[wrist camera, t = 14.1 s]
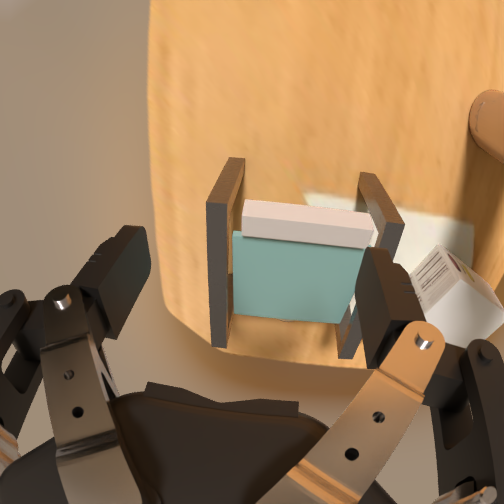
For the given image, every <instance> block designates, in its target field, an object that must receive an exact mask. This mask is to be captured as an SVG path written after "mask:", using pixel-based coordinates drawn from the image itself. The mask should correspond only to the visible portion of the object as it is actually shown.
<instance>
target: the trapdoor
mask: <svg viewBox="0 0 504 504" xmlns="http://www.w3.org/2000/svg"><path fill="white" fill-rule="evenodd" d="M373 231H374V229H373V225H372V220H371V216H370V213H362V212H355V211H347V210H339V209H331V208H323V207H315V206H306V205H297V204H288V203H278V202H268V201H258V200H247V199H245V203H244V208H243V212H242V231H233V235H232V247H233V298H234V314H241V315H250V316H259V317H268V318H278V319H289V320H299V321H311V322H323V323H337V324H340V322H341V320H342V318H343V316H344V313H345V311H346V309H347V307H348V305H349V303H350V301H351V298H352V296H353V294H354V292H355V284H356V279H357V276H358V273H359V269H360V266H361V262H362V258H363V255H364V251H365V249H366V247H371V245H368V244H369V242H370V239H371V237H372V234H373Z"/></svg>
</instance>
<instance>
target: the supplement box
mask: <svg viewBox="0 0 504 504" xmlns="http://www.w3.org/2000/svg"><path fill="white" fill-rule="evenodd" d="M409 277H410V279H411V282H412V285H413V287H414V289H415V294H417V297H418V300H419V302H420V305H421V308H422V310H423V313H424V316H425V318H426V321H427V322H428V323H430V324H432V325H434V326H435V327H436V328H438V329H439V330H440V332H441V333H442V334H443V336H444V339H445V342H446V343H449V344H452V345H456V346H459V347H463V348H467V346H468V345H469V343H470V342H471V341H472V340H474V339H484V340H485V339H486V338H487V337H489V336H490V335H491V334H492V333H493V332H494V331H495V330H497V329H498V328H499V327H500V326H501V325H502V324H503V323H504V309H503V307H502V305H501V303H500V302H499V300H498V298H497V296H496V295H495V293H494V291H493V290H492V288H491V286H490V285H489V283H487V282H486V281H485V280H484V279H483V278H482V277H480V276H479V275H478V274H477V273H476V272H474V271H473V270H472V269H471V268H470V267H468V266H467V265H466V264H465V263H463V262H462V261H461V260H460V259H459V258H457V257H456V256H455V255H453V254H452V253H451V252H450V251H448V250H447V249H446V248H445V247H443V246H442V245H440V244H438V245H437V246H436V247H435V248H434V249H433V250H432V251H431V252H430V253H429V255H428V256H427V257H426V258H425V259H424V260H423V261H422V262H421V263H420V264H419V265H418V266H417V268H416V269H415V270H414V271H413V272H412V273H411V274H410V275H409Z"/></svg>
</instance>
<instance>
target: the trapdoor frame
mask: <svg viewBox="0 0 504 504" xmlns="http://www.w3.org/2000/svg"><path fill="white" fill-rule="evenodd" d="M244 167H245V158H232V157H229V159H228V161H227V163H226V165H225V166H224V168H223V170H222V172H221V174H220V176H219V178H218V180H217V182H216V184H215V186H214V187H213V189H212V191H211V193H210V195H209V197H208V199H207V201H206V224H207V260H208V286H209V308H210V327H211V344H212V347H219V348H227V344H228V339H229V334H230V329H231V324H232V319H233V314H234V298H233V274H228V255H229V216H230V213H231V210H232V207H233V204H234V201H235V198H236V195H237V192H238V189H239V186H240V184H241V181H242V178H243V175H244ZM358 187H359V189H360V191H361V194H362V196H363V198H364V200H365V202H366V205H367V207H368V209H369V211H370V214H371V216H372V218H373V221H374V223H375V225H376V228H377V230H378V233H379V234H378V237H377V240H376V244H375V247H376V248H386V249H388V251H389V253H390V256H391V258H392V261H393V259H394V256H395V253H396V250H397V247H398V244H399V241H400V238H401V235H402V232H403V229H404V226H405V223H404V222H403V220H402V218H401V216H400V215H399V213H398V211H397V209H396V208H395V206H394V204H393V203H392V201H391V199H390V198H389V196H388V194H387V193H386V191H385V189H384V188H383V186H382V184H381V183H380V181H379V180H378V178H377V176H376V175H375V174H371V173H365V172H361V173H360V178H359V183H358ZM335 330H336V340H337V350H338V359H353V357H354V354H355V352H356V350H357V348H358V346H359V344H360V341H361V339H362V333H361V327H360V321H359V316H358V310H357V305H355V307H354V310H353V313H352V316H351V312H350V306H349V305H348V307H347V309H346V311H345V313H344V316H343V318H342V320H341V322H340V324H337V323H335Z"/></svg>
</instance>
